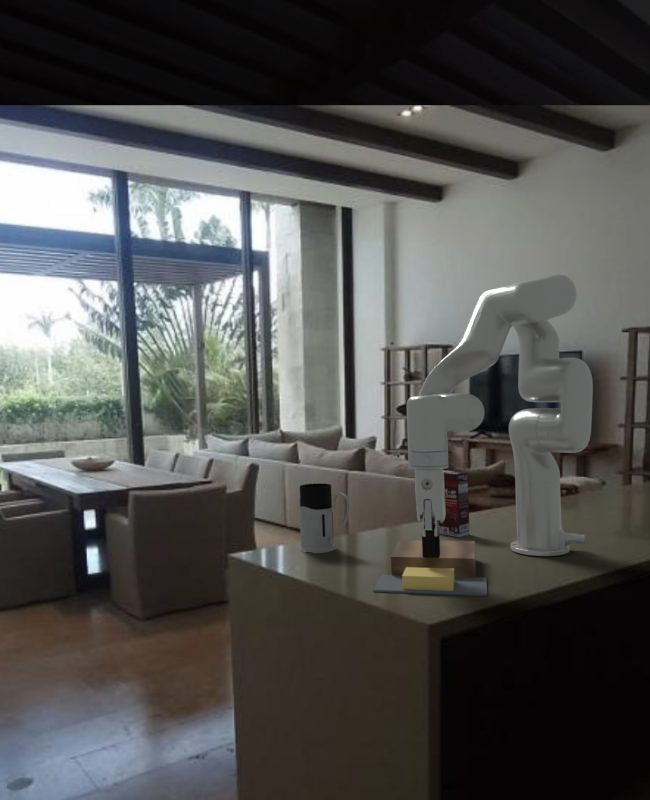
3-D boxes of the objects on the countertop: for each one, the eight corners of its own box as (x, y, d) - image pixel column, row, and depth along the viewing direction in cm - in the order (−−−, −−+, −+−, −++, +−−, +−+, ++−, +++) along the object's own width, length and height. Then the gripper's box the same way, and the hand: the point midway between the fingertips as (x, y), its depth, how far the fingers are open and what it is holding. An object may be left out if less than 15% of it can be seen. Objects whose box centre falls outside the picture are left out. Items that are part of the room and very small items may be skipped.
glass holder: (315, 543, 158) (313, 482, 158) (361, 550, 149) (359, 485, 149) (291, 550, 151) (289, 486, 151) (338, 558, 142) (336, 490, 142)
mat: (486, 579, 122) (486, 577, 122) (487, 596, 112) (487, 593, 112) (381, 576, 126) (381, 574, 126) (373, 591, 116) (373, 589, 116)
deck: (475, 559, 137) (474, 541, 137) (475, 579, 122) (474, 558, 122) (400, 558, 140) (399, 539, 140) (391, 577, 126) (390, 556, 126)
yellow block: (452, 577, 114) (453, 590, 114) (454, 568, 120) (454, 581, 120) (402, 575, 116) (402, 589, 116) (405, 567, 122) (406, 579, 122)
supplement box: (431, 533, 165) (429, 471, 165) (443, 530, 168) (441, 469, 168) (459, 538, 158) (456, 473, 159) (470, 534, 162) (468, 471, 162)
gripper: (446, 464, 114) (450, 567, 114) (449, 456, 128) (452, 548, 128) (404, 464, 116) (407, 566, 116) (412, 456, 130) (415, 547, 130)
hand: (431, 556), depth 122 cm, fingers closed
